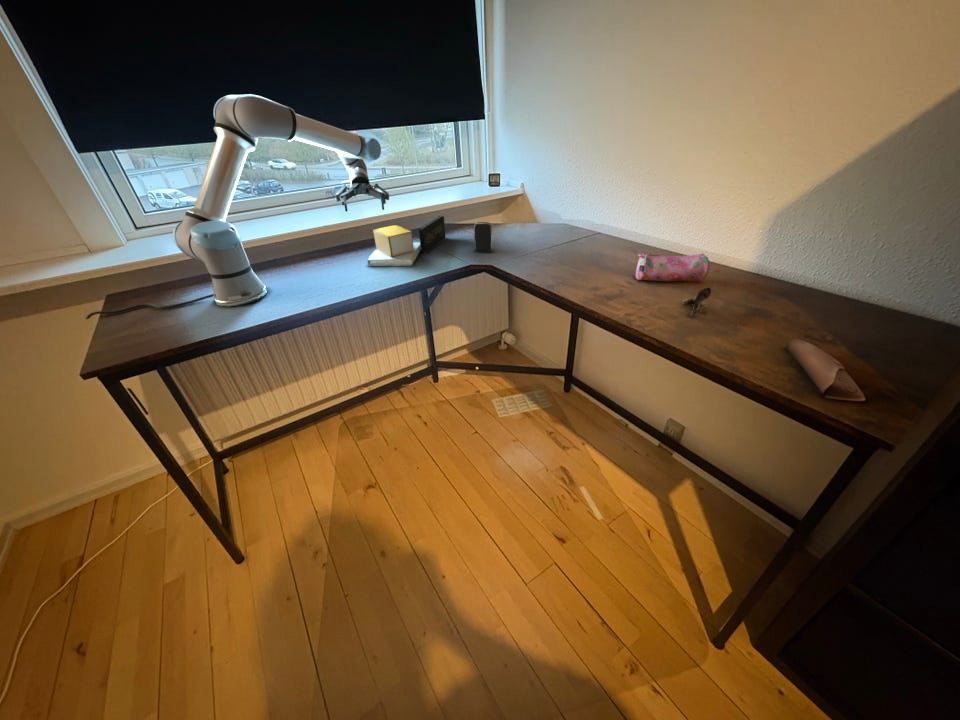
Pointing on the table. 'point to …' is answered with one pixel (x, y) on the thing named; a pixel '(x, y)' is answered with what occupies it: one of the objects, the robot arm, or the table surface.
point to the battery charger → (483, 236)
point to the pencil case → (672, 267)
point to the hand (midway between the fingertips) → (364, 207)
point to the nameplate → (432, 234)
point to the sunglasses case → (825, 372)
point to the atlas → (394, 258)
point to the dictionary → (393, 240)
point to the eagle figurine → (698, 301)
